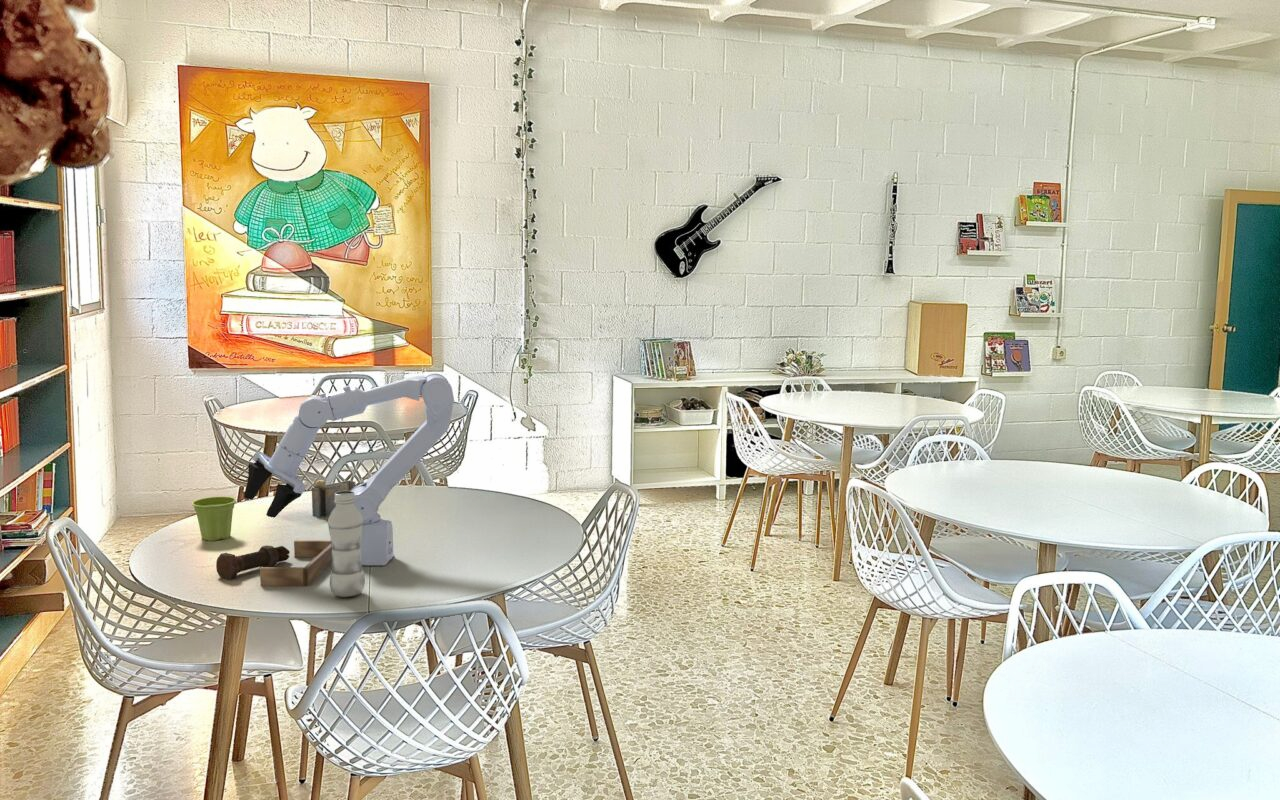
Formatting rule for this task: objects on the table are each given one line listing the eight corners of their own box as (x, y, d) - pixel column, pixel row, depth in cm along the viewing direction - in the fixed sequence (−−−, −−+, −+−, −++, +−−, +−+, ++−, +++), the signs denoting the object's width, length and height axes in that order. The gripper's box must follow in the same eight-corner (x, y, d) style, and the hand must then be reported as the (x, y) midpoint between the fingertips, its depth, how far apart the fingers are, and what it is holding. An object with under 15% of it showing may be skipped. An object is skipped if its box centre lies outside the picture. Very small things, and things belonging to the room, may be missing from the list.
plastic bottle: (369, 590, 194) (367, 489, 192) (358, 601, 188) (355, 496, 185) (337, 589, 195) (333, 488, 192) (324, 600, 188) (321, 496, 185)
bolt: (288, 570, 213) (226, 586, 200) (274, 555, 215) (212, 570, 202) (297, 549, 211) (235, 564, 198) (283, 534, 213) (221, 548, 200)
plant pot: (228, 543, 227) (226, 505, 226) (186, 543, 227) (184, 505, 226) (244, 532, 236) (242, 496, 235) (204, 532, 236) (202, 496, 235)
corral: (338, 556, 217) (337, 540, 217) (307, 585, 197) (306, 568, 196) (295, 556, 217) (295, 540, 217) (260, 585, 197) (259, 568, 196)
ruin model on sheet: (319, 519, 251) (318, 481, 250) (312, 517, 253) (311, 479, 252) (357, 510, 260) (356, 474, 259) (350, 509, 262) (349, 472, 260)
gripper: (256, 430, 207) (223, 487, 207) (301, 462, 200) (267, 522, 200) (280, 437, 213) (248, 492, 213) (324, 469, 207) (291, 526, 207)
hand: (259, 507), depth 207 cm, fingers open, 7 cm apart
